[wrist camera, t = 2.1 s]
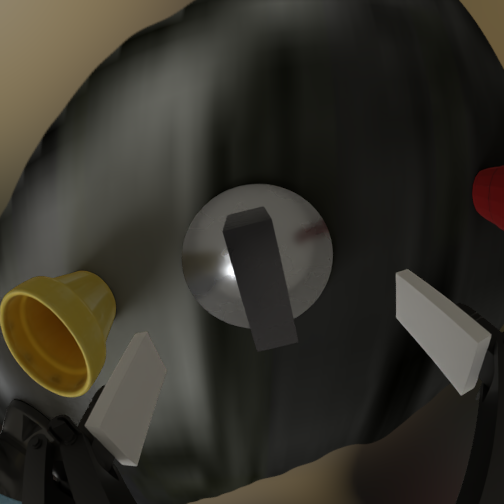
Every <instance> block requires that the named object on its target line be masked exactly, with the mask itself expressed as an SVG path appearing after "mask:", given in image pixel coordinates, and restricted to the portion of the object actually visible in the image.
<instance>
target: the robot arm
mask: <svg viewBox="0 0 504 504" xmlns="http://www.w3.org/2000/svg"><path fill="white" fill-rule="evenodd" d="M396 318H397V319H398V320H399V322H400V323H401V324H402V325H403V326H404V327H405V328H406V329H407V331H408V332H409V333H410V334H411V335H412V336H413V337H414V339H415V340H416V341H417V342H418V343H419V344H420V346H421V347H422V348H423V349H424V350H425V351H426V353H427V354H428V355H429V356H430V357H431V359H432V360H433V361H434V362H435V363H436V365H437V366H438V367H439V368H440V370H441V371H442V372H443V373H444V374H445V376H446V377H447V378H448V379H449V381H450V382H451V383H452V384H453V386H454V387H455V388H456V389H457V391H458V392H459V393H460V395H463V394H464V393H466V392H468V391H469V390H471V389H473V388H474V387H475V384H476V382H477V379H478V377H479V378H480V379H481V380H482V385H481V387H480V389H479V392H478V394H477V397H476V400H478V398H479V396H480V399H479V408H478V416H477V422H476V429H475V434H474V439H473V445H472V449H471V454H470V458H469V462H468V466H467V469H466V473H465V476H464V480H463V483H462V486H461V489H460V492H459V495H458V498H457V501H456V504H504V332H500V331H499V330H498V329H497V328H495V327H494V326H493V325H492V324H491V323H489V322H488V321H487V320H486V319H484V318H482V316H481V315H479V314H478V313H476V311H474V310H473V309H472V308H470V307H469V306H466V305H464V304H461V303H458V304H456V305H455V304H454V303H452V302H451V301H450V300H449V299H447V298H446V297H445V296H443V295H442V294H441V293H439V292H438V291H437V290H436V289H434V288H433V287H432V286H430V285H429V284H427V283H426V282H425V281H423V280H422V279H421V278H419V277H418V276H417V275H415V274H414V273H412V272H411V271H410V270H408V269H407V270H404V271H401V272H397V273H396ZM166 372H167V369H166V368H165V366H164V364H163V362H162V360H161V358H160V356H159V354H158V352H157V350H156V348H155V346H154V344H153V342H152V340H151V338H150V336H149V334H148V332H140V333H135V335H134V336H133V338H132V340H131V341H130V343H129V345H128V347H127V348H126V350H125V352H124V353H123V355H122V357H121V359H120V360H119V362H118V364H117V366H116V367H115V369H114V371H113V373H112V375H111V376H110V378H109V380H108V382H107V384H106V386H102V387H101V388H100V389H99V390H98V391H97V392H96V393H95V395H94V397H93V399H92V402H91V403H90V404H89V406H88V407H89V408H87V410H86V412H85V414H84V416H83V417H82V419H81V421H80V423H79V425H78V427H77V426H76V425H75V424H74V422H73V421H72V420H71V419H70V418H69V417H68V416H66V415H59V416H56V417H55V418H53V419H52V420H51V421H49V420H48V419H47V418H46V417H45V416H43V415H42V414H41V413H40V412H38V411H37V410H35V409H34V408H32V407H31V406H29V405H27V404H26V403H24V402H21V401H19V400H13V401H12V402H11V403H10V404H9V406H8V407H7V410H6V414H5V419H4V423H3V428H2V432H1V434H0V504H137V503H136V501H135V500H134V498H133V496H132V495H131V493H130V491H129V489H128V488H127V486H126V484H125V482H124V480H123V478H122V477H121V475H120V473H119V471H118V469H117V467H116V466H115V465H114V464H113V461H114V458H116V459H117V460H118V461H119V462H120V463H121V464H123V465H130V466H137V464H138V461H139V457H140V454H141V450H142V447H143V444H144V440H145V437H146V434H147V431H148V427H149V424H150V421H151V418H152V415H153V411H154V408H155V405H156V402H157V399H158V396H159V393H160V390H161V387H162V384H163V381H164V378H165V375H166ZM53 474H54V475H55V476H56V477H57V481H55V480H53Z"/></svg>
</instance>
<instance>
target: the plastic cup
mask: <svg viewBox="0 0 504 504" xmlns="http://www.w3.org/2000/svg"><path fill="white" fill-rule="evenodd" d="M472 196H473V203H474V206H475V208H476V211H477V212H478V213H479V214H480V215H481V216H483V217H484V218H485V219H487V220H488V221H490V222H492V223H494V224H495V225H497V227H499V228H500V229H502V230H503V231H504V165H503V166H500V167H492V168H487V169H484V170H481V171H479V173H478V174H477V175H476V177H475V180H474V183H473V191H472Z"/></svg>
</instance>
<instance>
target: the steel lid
mask: <svg viewBox="0 0 504 504" xmlns="http://www.w3.org/2000/svg"><path fill="white" fill-rule="evenodd" d="M332 262H333V249H332V242H331V237H330V234H329V231H328V229H327V226H326V224H325V222H324V220H323V219H322V217H321V216H320V214H319V213H318V212H317V210H316V209H315V208H314V207H313V206H312V205H311V204H310V203H309V202H308V201H306V200H305V199H304V198H302V197H301V196H299V195H297V194H296V193H294V192H292V191H290V190H287V189H284V188H282V187H279V186H274V185H270V184H247V185H241V186H237V187H234V188H231V189H229V190H227V191H224V192H222V193H220V194H219V195H217V196H216V197H214V198H213V199H211V200H210V201H209V202H208V203H207V204H206V205H205V206H204V207H203V208H202V209H201V210H200V211H199V212H198V213H197V215H196V216H195V217H194V219H193V221H192V222H191V224H190V226H189V228H188V230H187V232H186V235H185V239H184V242H183V248H182V267H183V273H184V276H185V280H186V282H187V285H188V287H189V289H190V291H191V292H192V294H193V296H194V297H195V299H196V300H197V301H198V302H199V304H200V305H201V306H202V307H203V308H204V309H205V310H207V311H208V312H209V313H211V314H212V315H213V316H215V317H217V318H218V319H220V320H222V321H224V322H227V323H229V324H232V325H235V326H239V327H245V328H250V329H251V332H252V336H253V339H254V342H255V346H256V349H257V352H259V351H263V350H268V349H272V348H276V347H281V346H285V345H289V344H293V343H297V342H298V338H297V333H296V328H295V323H294V318H296V317H297V316H299V315H301V314H302V313H303V312H305V311H306V310H307V309H308V308H309V307H310V306H311V305H312V304H313V303H314V302H315V301H316V300H317V299H318V297H319V296H320V295H321V293H322V291H323V290H324V288H325V286H326V284H327V282H328V279H329V276H330V273H331V268H332Z"/></svg>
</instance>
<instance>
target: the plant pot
mask: <svg viewBox="0 0 504 504" xmlns="http://www.w3.org/2000/svg"><path fill="white" fill-rule="evenodd" d="M115 314H116V303H115V299H114V296H113V294H112V292H111V290H110V288H109V287H108V285H107V284H106V283H105V282H104V281H103V280H102V279H101V278H100V277H99V276H97V275H95V274H94V273H91V272H88V271H76V272H73V273H70V274H66V275H63V276H59V277H55V278H50V277H45V276H38V277H34V278H31V279H29V280H27V281H25V282H23V283H21V284H20V285H18V286H16V287H15V288H13V289H12V290H10V291H9V292H8V293H7V294H6V295H5V296H4V298H3V300H2V302H1V305H0V325H1V329H2V333H3V336H4V339H5V341H6V343H7V346H8V348H9V350H10V351H11V353H12V355H13V356H14V358H15V359H16V361H17V362H18V364H19V365H20V366H21V367H22V369H23V370H24V371H25V372H26V373H27V374H28V375H29V376H30V377H31V378H32V379H33V380H35V381H36V382H37V383H38V384H40V385H41V386H43V387H44V388H46V389H47V390H49V391H51V392H53V393H56V394H58V395H61V396H65V397H78V396H81V395H83V394H85V393H86V392H87V391H88V390H89V389H90V388H91V386H92V385H93V383H94V382H95V380H96V378H97V377H98V375H99V373H100V371H101V369H102V367H103V365H104V363H105V358H106V343H105V342H106V339H107V336H108V334H109V331H110V328H111V325H112V323H113V320H114V318H115Z"/></svg>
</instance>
